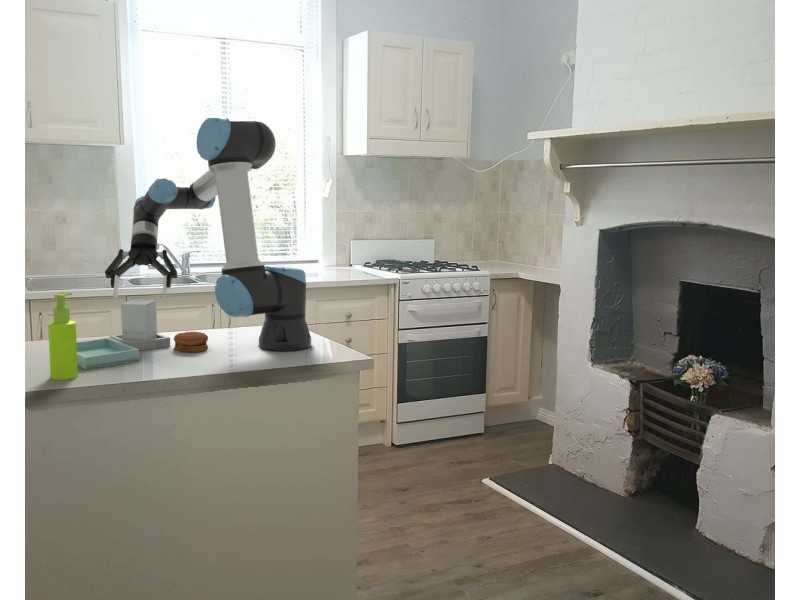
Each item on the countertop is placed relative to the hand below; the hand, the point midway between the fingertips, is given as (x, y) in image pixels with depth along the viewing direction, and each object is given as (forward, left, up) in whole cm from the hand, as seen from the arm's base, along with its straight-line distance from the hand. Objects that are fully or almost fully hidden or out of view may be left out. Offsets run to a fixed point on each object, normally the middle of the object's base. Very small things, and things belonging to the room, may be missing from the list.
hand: (140, 295), depth 210 cm
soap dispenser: (-26, +32, -13) cm, 43 cm away
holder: (-7, +4, -13) cm, 15 cm away
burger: (-19, -5, -13) cm, 24 cm away
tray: (-14, +19, -13) cm, 27 cm away
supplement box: (-7, +4, -13) cm, 15 cm away
